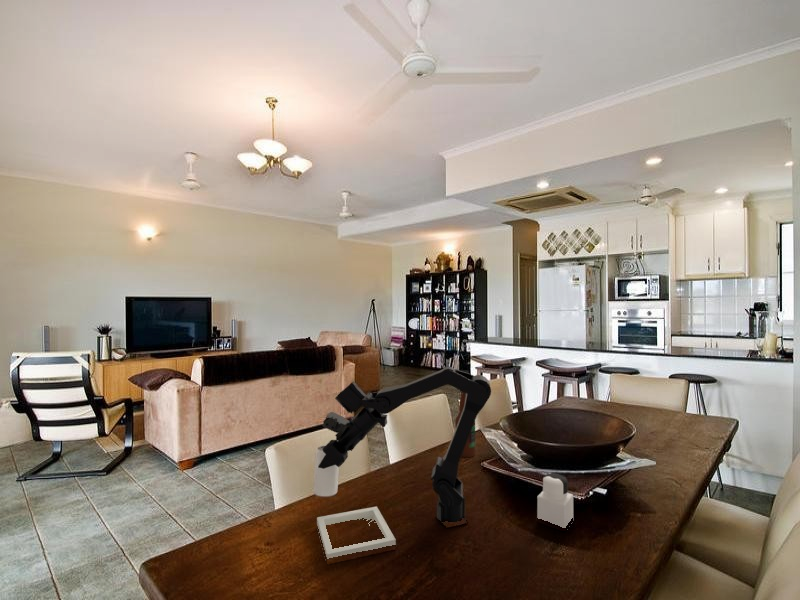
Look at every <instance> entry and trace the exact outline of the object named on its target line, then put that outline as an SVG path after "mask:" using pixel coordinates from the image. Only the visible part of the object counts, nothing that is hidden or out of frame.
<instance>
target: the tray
mask: <svg viewBox="0 0 800 600" xmlns="http://www.w3.org/2000/svg"><path fill="white" fill-rule="evenodd" d="M362 518H364V519H367V520H366V521H368V520H370V519H372V520H371V521H370V522H372V521H374V520H375V521H376V522H374V523H377V525H378V527H379V529H380V530H381V532H382V534H383V535H384V537H385V538H382V539H377V540H372V541H368V542H363V543H358V544H353V545H349V546H344V547H339V548H334V549H332V545H331V542H330V539H329V535H328V532H327V529H326V525H331V524H335V523H340V522H345V521H350V520H357V519H359V520H360V519H362ZM364 519H363V520H364ZM370 522H369V523H370ZM369 523H368V524H369ZM316 525H317V526H318V529H319V532H318V534H319V533H320V536H321V540H322V543H323V547H324V550H325V554H326V557H327V559H329V558H333V557H338V556H342V555H347V554H352V553H356V552H362V551H368V550H373V549H378V548H382V547H386V546H392V545H396V546H397V542H396V541H397V540H396V538H395V536H394V534H393V533H392V531H391V529H390V528H389V526H388V524H387V521H386V520H385V518H384V516H383V515H382V513H381V511H380V509H379V508H378V506H372V507H367V508H361V509H355V510H350V511H349V510H348V511H346V512H339V513H333V514H328V515H322V516H318V517H316ZM317 526H316V527H317ZM369 526H370V524H369ZM318 529H317V530H318ZM320 536H319V537H320ZM321 540H320V541H321Z"/></svg>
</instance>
